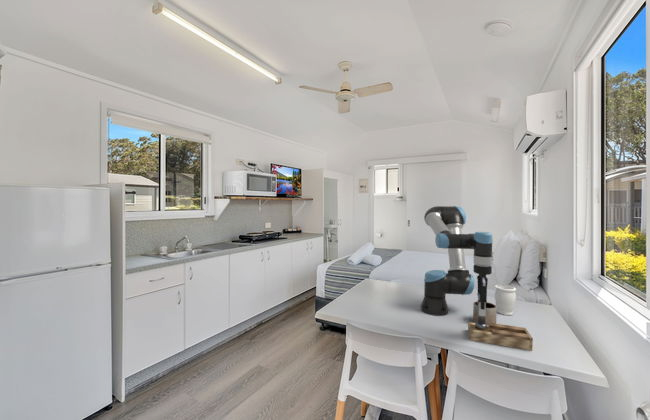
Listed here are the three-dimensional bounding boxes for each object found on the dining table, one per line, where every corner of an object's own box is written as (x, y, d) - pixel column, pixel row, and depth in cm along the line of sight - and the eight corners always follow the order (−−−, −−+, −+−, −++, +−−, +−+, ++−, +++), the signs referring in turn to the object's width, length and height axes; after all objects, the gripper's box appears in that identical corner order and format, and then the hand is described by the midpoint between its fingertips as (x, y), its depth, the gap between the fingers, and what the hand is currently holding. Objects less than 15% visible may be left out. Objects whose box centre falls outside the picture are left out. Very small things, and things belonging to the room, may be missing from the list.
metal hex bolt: (475, 328, 133) (476, 295, 133) (474, 324, 138) (475, 292, 138) (488, 330, 131) (488, 296, 131) (486, 326, 136) (487, 293, 136)
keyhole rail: (470, 340, 132) (470, 328, 132) (468, 330, 142) (468, 319, 142) (532, 350, 123) (532, 338, 123) (525, 339, 133) (525, 327, 133)
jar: (518, 317, 159) (519, 290, 159) (498, 315, 161) (499, 289, 161) (510, 310, 169) (511, 285, 169) (491, 308, 171) (492, 283, 171)
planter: (496, 328, 144) (496, 310, 144) (472, 323, 150) (472, 305, 149) (496, 321, 153) (496, 303, 153) (473, 316, 159) (474, 299, 159)
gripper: (494, 269, 125) (493, 321, 126) (488, 262, 140) (487, 309, 140) (475, 267, 128) (474, 319, 128) (471, 261, 143) (470, 307, 143)
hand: (481, 314), depth 134 cm, fingers closed on metal hex bolt, 3 cm apart
